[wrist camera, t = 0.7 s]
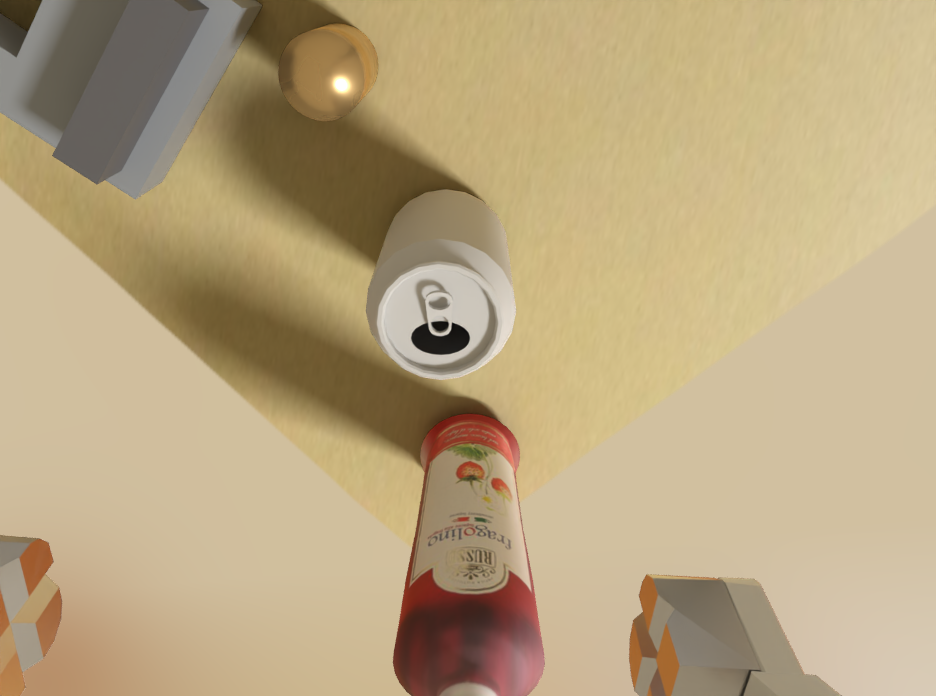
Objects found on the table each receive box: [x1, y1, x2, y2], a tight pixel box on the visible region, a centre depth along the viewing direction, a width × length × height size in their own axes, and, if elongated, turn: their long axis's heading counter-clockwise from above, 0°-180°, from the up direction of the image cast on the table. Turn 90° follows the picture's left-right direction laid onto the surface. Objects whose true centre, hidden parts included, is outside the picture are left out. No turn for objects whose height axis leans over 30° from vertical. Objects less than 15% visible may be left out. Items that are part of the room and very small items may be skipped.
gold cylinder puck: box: [278, 23, 378, 121], centre depth 40 cm, size 4×4×6 cm
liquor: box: [393, 414, 545, 696], centre depth 41 cm, size 7×7×28 cm
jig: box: [0, 0, 263, 199], centre depth 38 cm, size 12×16×7 cm
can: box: [366, 189, 516, 380], centre depth 42 cm, size 8×8×12 cm
